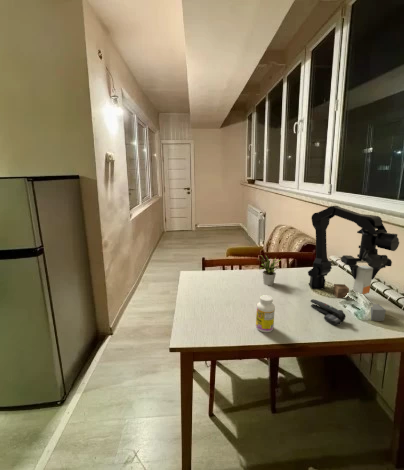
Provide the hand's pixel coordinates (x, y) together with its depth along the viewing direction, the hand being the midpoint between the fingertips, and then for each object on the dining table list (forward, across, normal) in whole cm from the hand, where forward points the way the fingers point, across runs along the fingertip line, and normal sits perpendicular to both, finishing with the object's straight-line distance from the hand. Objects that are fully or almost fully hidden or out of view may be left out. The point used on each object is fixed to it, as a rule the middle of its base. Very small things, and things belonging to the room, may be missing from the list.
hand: (363, 279), depth 117 cm
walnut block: (+13, -4, +10) cm, 17 cm away
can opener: (+13, -18, -10) cm, 25 cm away
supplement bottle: (+13, -46, -21) cm, 52 cm away
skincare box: (+7, 0, 0) cm, 7 cm away
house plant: (+13, -38, +23) cm, 46 cm away
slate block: (+13, +1, -10) cm, 16 cm away
